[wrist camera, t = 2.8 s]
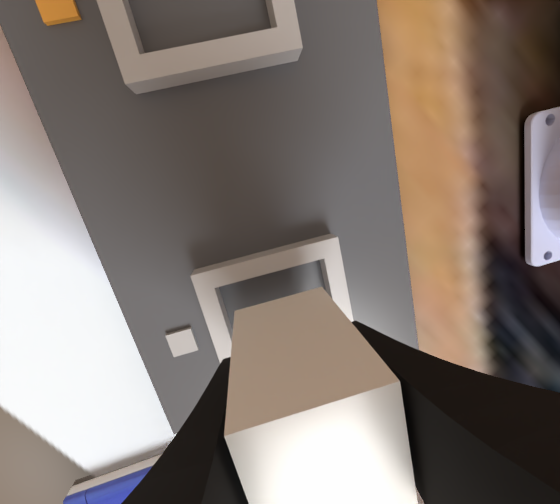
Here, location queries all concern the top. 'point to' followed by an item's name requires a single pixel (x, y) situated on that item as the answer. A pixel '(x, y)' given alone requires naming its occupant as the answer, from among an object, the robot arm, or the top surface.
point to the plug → (314, 408)
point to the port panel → (222, 163)
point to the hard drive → (109, 485)
